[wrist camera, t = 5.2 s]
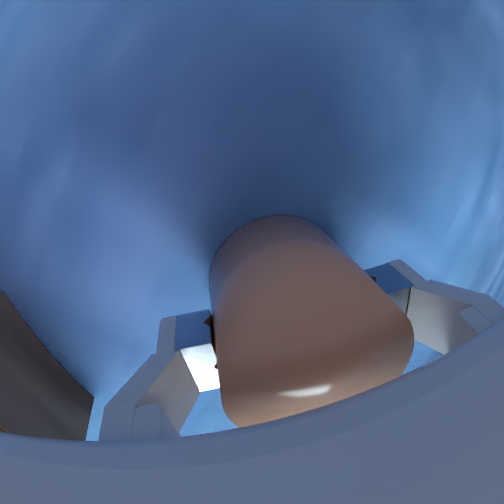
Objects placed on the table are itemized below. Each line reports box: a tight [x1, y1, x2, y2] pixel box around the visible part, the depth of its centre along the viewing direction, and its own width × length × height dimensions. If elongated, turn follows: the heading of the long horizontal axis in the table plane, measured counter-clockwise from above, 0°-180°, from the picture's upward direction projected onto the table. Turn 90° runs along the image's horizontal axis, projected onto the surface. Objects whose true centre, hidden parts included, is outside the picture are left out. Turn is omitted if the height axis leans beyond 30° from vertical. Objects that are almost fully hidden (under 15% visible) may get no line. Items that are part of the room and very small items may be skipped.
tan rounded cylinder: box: [209, 215, 414, 428], centre depth 8 cm, size 5×5×5 cm
